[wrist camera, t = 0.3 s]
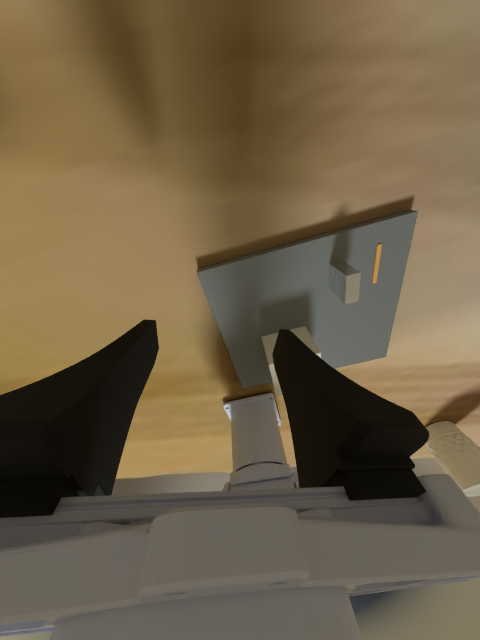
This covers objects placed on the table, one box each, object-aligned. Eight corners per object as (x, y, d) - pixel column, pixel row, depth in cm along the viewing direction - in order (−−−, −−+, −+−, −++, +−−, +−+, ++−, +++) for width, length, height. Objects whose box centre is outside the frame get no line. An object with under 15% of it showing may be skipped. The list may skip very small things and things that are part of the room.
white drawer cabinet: (307, 357, 26) (322, 386, 22) (268, 366, 27) (276, 396, 23) (305, 325, 23) (321, 353, 19) (261, 336, 24) (268, 365, 20)
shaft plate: (381, 351, 28) (403, 375, 25) (242, 383, 30) (244, 409, 26) (409, 209, 18) (453, 215, 15) (197, 268, 20) (192, 286, 16)
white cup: (464, 421, 41) (524, 480, 33) (432, 440, 45) (479, 497, 37) (438, 416, 39) (495, 477, 31) (407, 436, 43) (450, 496, 35)
